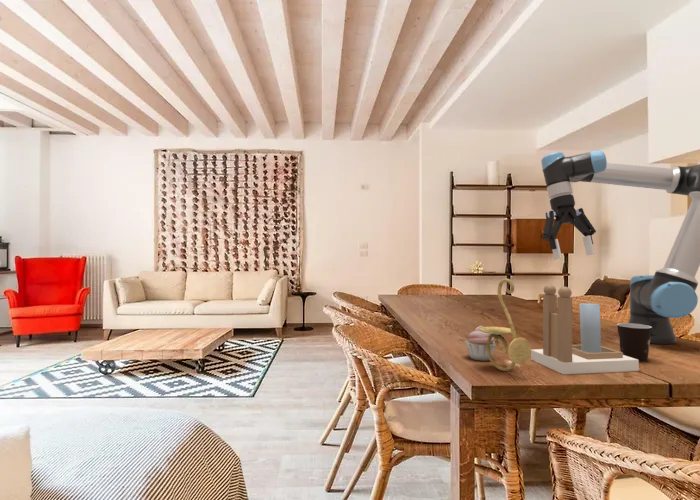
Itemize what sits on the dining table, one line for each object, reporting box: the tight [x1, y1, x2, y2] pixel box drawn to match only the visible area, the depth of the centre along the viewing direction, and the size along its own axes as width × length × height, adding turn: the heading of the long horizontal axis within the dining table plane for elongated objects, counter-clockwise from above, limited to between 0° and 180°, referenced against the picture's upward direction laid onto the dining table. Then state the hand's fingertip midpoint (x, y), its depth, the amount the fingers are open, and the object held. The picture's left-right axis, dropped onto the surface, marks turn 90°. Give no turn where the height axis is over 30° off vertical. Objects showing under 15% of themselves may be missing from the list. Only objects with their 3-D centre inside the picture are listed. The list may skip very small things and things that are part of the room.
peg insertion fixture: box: [530, 284, 640, 375], centre depth 119 cm, size 22×15×23 cm
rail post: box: [579, 302, 602, 353], centre depth 120 cm, size 5×5×14 cm
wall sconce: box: [479, 278, 532, 372], centre depth 113 cm, size 14×10×25 cm
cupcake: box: [464, 325, 497, 362], centre depth 126 cm, size 9×9×10 cm
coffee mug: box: [616, 322, 652, 363], centre depth 126 cm, size 12×9×10 cm
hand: (574, 256), depth 143 cm, fingers open, 13 cm apart
